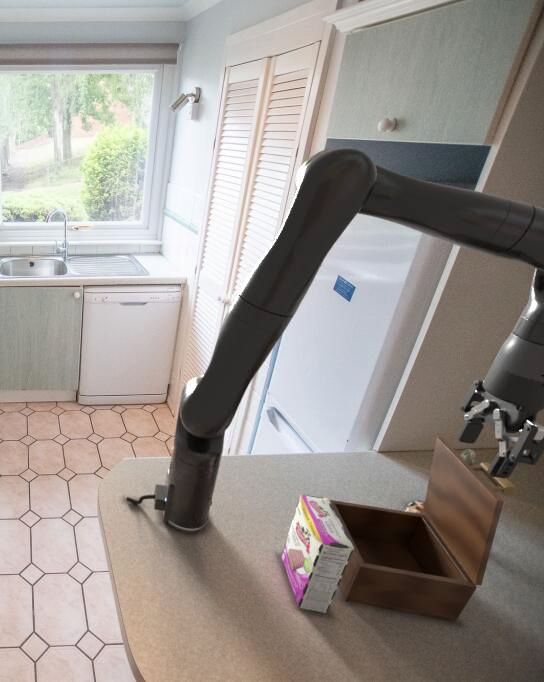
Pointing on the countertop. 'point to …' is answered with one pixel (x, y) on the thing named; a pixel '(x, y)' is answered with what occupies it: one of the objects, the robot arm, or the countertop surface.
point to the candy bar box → (316, 553)
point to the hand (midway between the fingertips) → (479, 458)
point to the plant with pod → (419, 506)
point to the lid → (464, 507)
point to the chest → (401, 563)
